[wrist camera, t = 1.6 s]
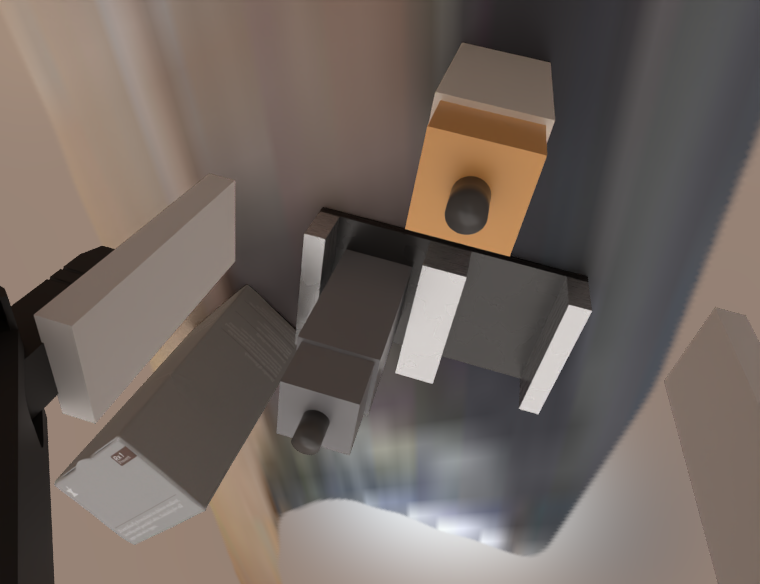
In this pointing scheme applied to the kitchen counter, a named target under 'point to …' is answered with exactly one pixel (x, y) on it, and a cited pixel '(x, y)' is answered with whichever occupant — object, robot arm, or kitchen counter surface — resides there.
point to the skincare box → (184, 422)
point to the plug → (483, 149)
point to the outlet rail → (459, 302)
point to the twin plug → (342, 353)
